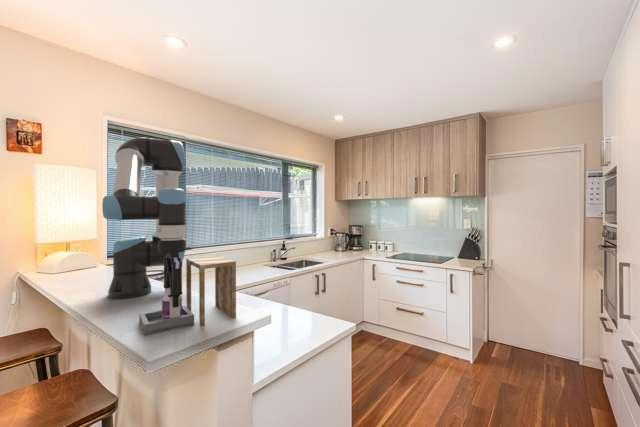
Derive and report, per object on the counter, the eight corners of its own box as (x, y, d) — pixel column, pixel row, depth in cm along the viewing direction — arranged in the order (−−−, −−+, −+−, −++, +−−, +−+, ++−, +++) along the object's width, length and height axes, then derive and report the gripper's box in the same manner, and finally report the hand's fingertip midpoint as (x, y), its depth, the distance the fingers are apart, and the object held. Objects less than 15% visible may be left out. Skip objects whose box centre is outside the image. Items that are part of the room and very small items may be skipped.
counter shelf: (186, 311, 101) (186, 258, 101) (218, 305, 108) (218, 255, 108) (200, 326, 89) (200, 265, 89) (236, 317, 96) (235, 261, 95)
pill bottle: (173, 324, 88) (173, 291, 88) (158, 322, 89) (157, 290, 89) (185, 317, 93) (185, 286, 93) (170, 316, 94) (170, 285, 94)
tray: (139, 323, 91) (139, 313, 91) (184, 314, 99) (184, 305, 99) (144, 335, 82) (144, 324, 82) (194, 324, 90) (194, 314, 90)
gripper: (153, 237, 96) (153, 309, 96) (164, 242, 81) (165, 326, 82) (178, 236, 101) (178, 305, 101) (193, 240, 86) (193, 320, 86)
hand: (172, 314), depth 91 cm, fingers closed on pill bottle, 5 cm apart
